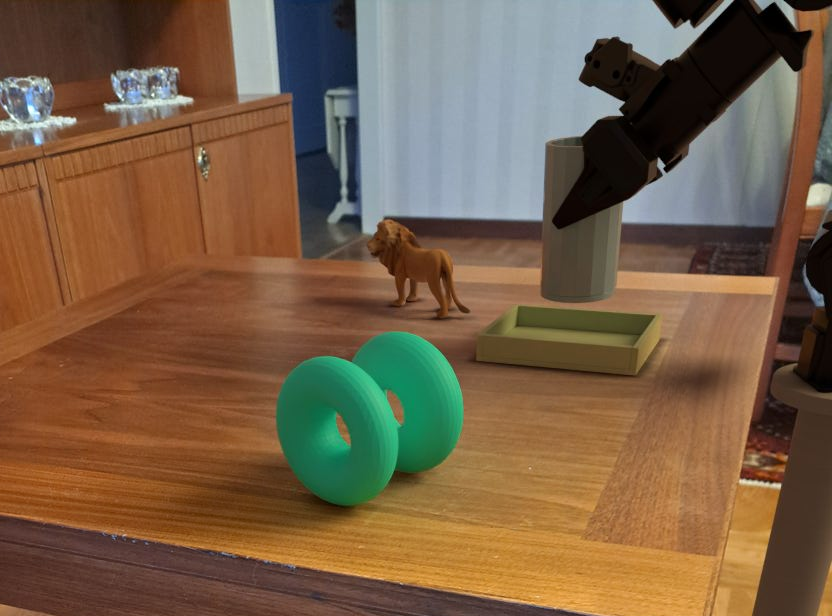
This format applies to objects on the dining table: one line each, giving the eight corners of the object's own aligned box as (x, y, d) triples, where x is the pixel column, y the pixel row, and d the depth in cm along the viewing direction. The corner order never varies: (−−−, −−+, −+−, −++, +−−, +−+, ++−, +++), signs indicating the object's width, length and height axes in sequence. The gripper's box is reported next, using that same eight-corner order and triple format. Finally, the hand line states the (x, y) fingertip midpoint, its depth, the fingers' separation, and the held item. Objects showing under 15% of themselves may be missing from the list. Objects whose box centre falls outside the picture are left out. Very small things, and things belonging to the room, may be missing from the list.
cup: (630, 290, 89) (644, 136, 82) (583, 307, 86) (594, 148, 79) (571, 280, 94) (579, 133, 87) (524, 296, 91) (529, 144, 83)
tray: (659, 339, 95) (663, 314, 93) (635, 375, 85) (639, 348, 84) (513, 328, 100) (514, 303, 99) (476, 360, 91) (476, 334, 90)
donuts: (470, 480, 68) (474, 339, 62) (378, 529, 61) (374, 378, 56) (366, 448, 73) (361, 317, 68) (273, 490, 67) (260, 350, 62)
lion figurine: (361, 302, 112) (359, 221, 107) (393, 294, 115) (392, 214, 110) (454, 323, 103) (456, 234, 98) (486, 312, 106) (489, 227, 101)
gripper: (670, -5, 83) (540, 138, 93) (620, -6, 69) (474, 162, 79) (749, 96, 84) (612, 226, 94) (715, 115, 70) (559, 265, 80)
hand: (566, 218), depth 87 cm, fingers closed on cup, 7 cm apart
